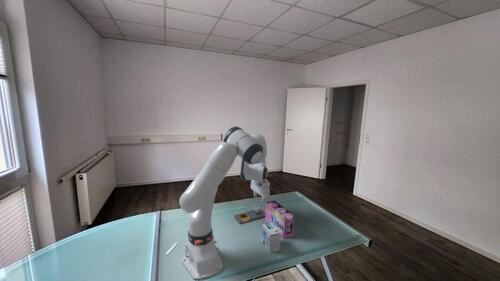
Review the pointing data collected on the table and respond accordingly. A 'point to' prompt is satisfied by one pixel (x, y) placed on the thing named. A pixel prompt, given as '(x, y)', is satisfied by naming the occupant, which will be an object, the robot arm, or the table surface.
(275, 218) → the pink product box
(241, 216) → the rail
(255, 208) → the nut
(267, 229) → the light bulb box
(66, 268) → the table surface
